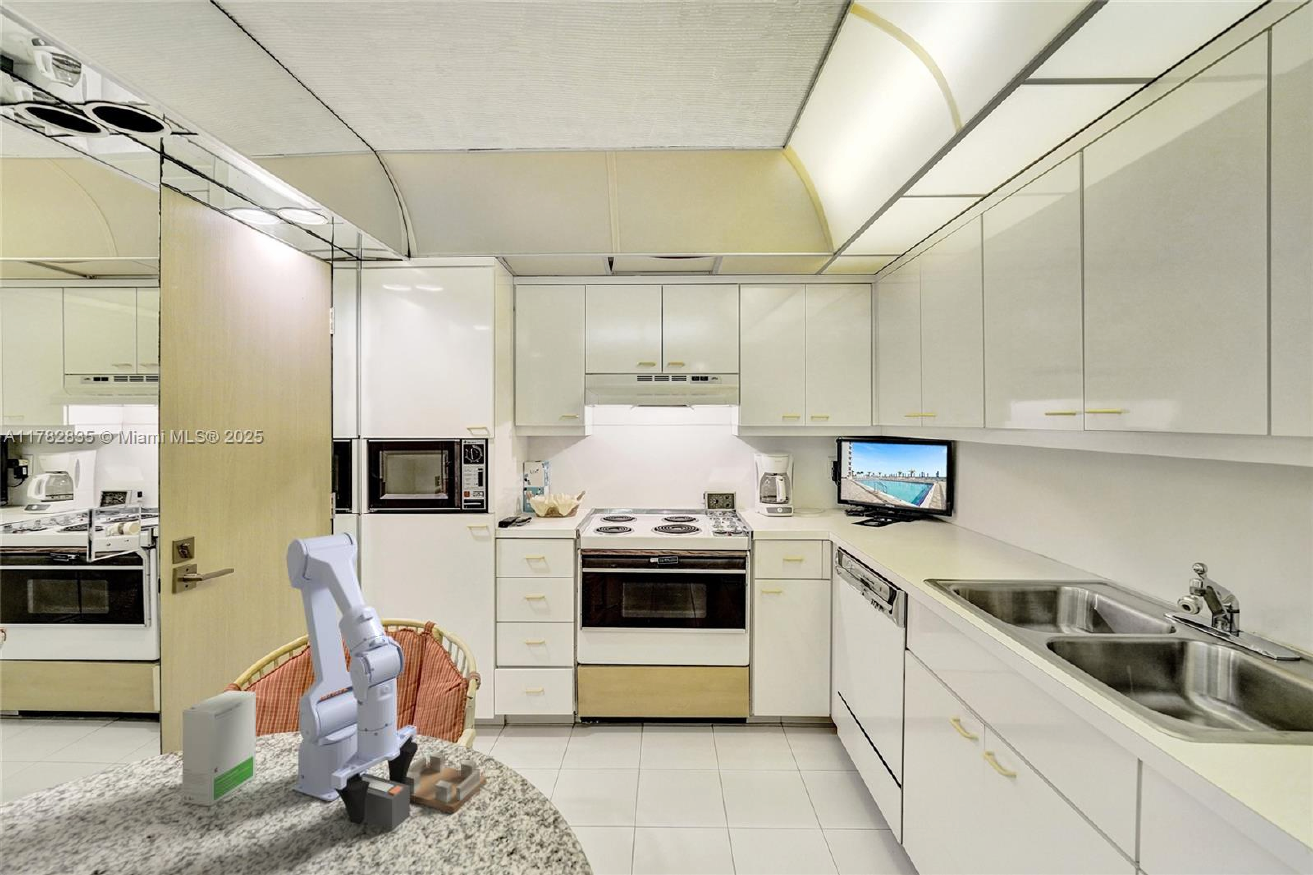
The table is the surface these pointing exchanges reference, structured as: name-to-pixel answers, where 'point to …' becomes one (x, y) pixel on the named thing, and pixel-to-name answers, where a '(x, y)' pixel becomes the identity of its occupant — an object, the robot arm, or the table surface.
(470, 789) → the mounting board
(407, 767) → the robot arm
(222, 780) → the skincare box
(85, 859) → the table surface
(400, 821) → the grey rectangular block
